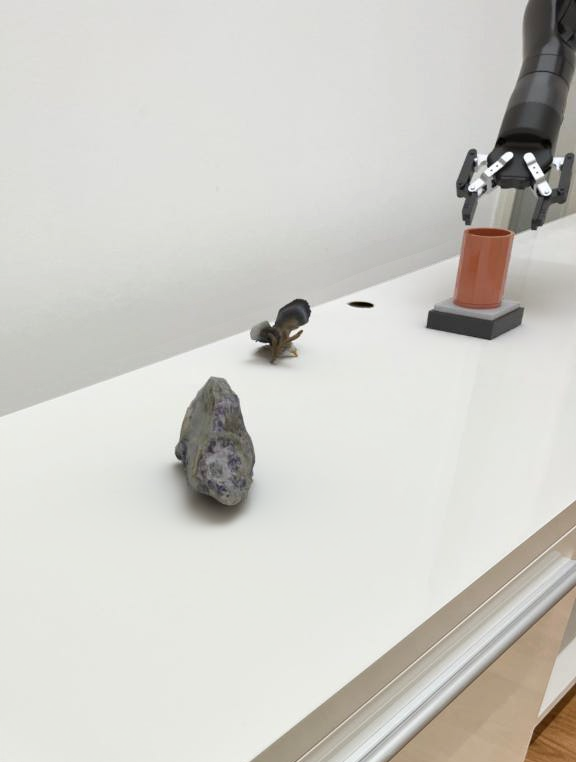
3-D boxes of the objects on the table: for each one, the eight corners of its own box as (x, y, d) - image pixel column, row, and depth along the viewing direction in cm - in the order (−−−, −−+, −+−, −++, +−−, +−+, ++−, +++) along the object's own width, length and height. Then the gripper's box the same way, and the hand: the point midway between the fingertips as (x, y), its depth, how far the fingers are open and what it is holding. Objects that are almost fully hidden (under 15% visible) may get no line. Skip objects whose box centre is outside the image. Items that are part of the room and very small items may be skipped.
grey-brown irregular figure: (319, 357, 125) (324, 323, 132) (290, 309, 122) (296, 277, 129) (265, 385, 130) (272, 351, 136) (235, 340, 126) (244, 307, 133)
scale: (521, 324, 139) (525, 301, 137) (490, 339, 134) (494, 316, 132) (457, 312, 144) (461, 291, 143) (425, 327, 139) (429, 304, 137)
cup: (509, 302, 137) (522, 231, 133) (488, 312, 134) (501, 239, 129) (466, 294, 141) (477, 225, 136) (444, 304, 137) (455, 233, 133)
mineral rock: (230, 525, 90) (236, 415, 85) (124, 501, 95) (123, 395, 89) (287, 473, 99) (295, 371, 94) (187, 453, 104) (190, 355, 99)
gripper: (477, 98, 139) (444, 203, 137) (590, 100, 133) (558, 210, 131) (479, 136, 146) (447, 237, 144) (586, 140, 140) (555, 245, 138)
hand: (500, 224), depth 137 cm, fingers open, 8 cm apart
